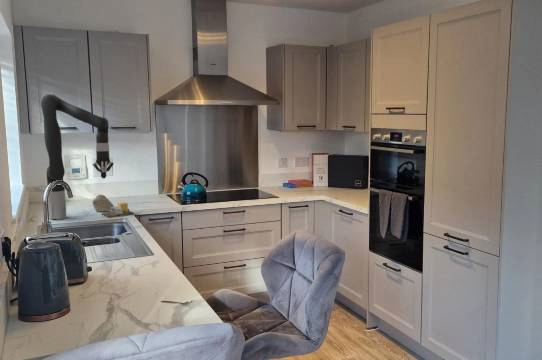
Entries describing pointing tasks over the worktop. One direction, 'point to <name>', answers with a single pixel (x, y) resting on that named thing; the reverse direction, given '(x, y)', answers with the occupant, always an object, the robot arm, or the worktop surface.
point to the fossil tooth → (102, 203)
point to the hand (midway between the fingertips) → (103, 178)
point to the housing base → (116, 214)
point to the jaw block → (123, 206)
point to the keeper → (116, 210)
